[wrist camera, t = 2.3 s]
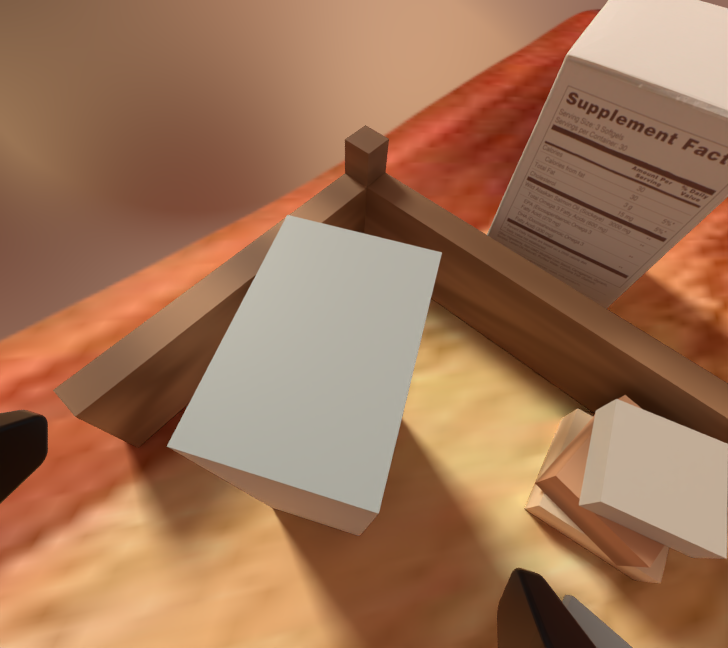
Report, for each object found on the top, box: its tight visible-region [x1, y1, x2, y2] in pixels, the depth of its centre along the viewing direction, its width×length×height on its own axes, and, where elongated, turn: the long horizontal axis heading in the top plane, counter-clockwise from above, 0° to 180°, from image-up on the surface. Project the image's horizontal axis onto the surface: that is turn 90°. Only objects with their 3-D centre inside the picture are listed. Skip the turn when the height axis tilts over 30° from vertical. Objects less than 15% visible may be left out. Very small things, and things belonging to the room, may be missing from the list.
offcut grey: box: [579, 399, 728, 559], centre depth 15 cm, size 4×4×2 cm
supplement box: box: [487, 0, 728, 309], centre depth 20 cm, size 7×7×13 cm
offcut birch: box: [524, 408, 669, 583], centre depth 18 cm, size 5×5×2 cm
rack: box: [53, 126, 728, 507], centre depth 16 cm, size 18×26×7 cm
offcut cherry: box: [535, 395, 665, 568], centre depth 16 cm, size 5×4×2 cm
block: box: [167, 215, 442, 536], centre depth 14 cm, size 6×4×12 cm, turn 164°
